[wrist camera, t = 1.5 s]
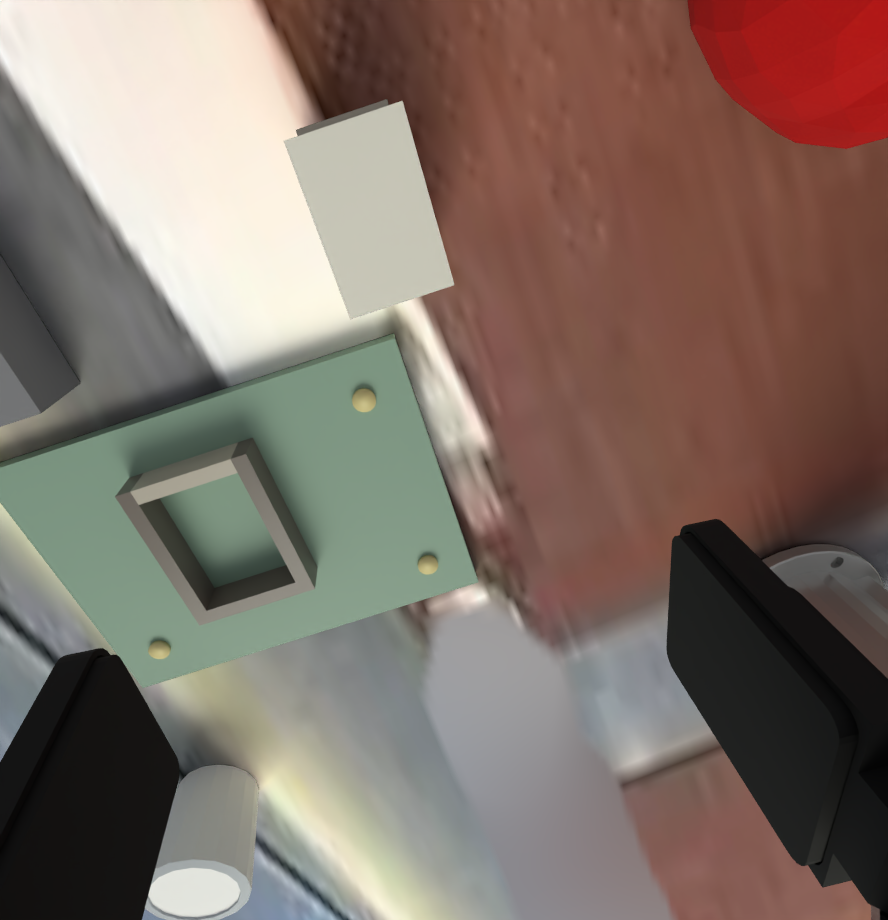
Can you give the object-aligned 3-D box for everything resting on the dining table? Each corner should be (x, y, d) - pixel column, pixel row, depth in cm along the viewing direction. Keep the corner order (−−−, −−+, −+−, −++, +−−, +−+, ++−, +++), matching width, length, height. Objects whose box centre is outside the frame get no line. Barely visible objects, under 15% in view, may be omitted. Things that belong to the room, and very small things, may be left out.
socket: (252, 437, 31) (245, 454, 29) (317, 567, 35) (315, 589, 33) (129, 477, 31) (114, 496, 29) (208, 602, 35) (199, 625, 33)
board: (393, 333, 30) (395, 340, 29) (475, 572, 37) (479, 585, 36) (-10, 465, 31) (-25, 477, 30) (148, 675, 38) (141, 691, 37)
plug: (390, 111, 26) (400, 91, 19) (432, 255, 29) (454, 285, 22) (304, 141, 26) (280, 132, 19) (354, 281, 29) (350, 319, 22)
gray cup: (151, 775, 42) (114, 880, 36) (244, 747, 42) (222, 849, 36) (195, 830, 45) (168, 936, 39) (281, 804, 45) (268, 907, 39)
